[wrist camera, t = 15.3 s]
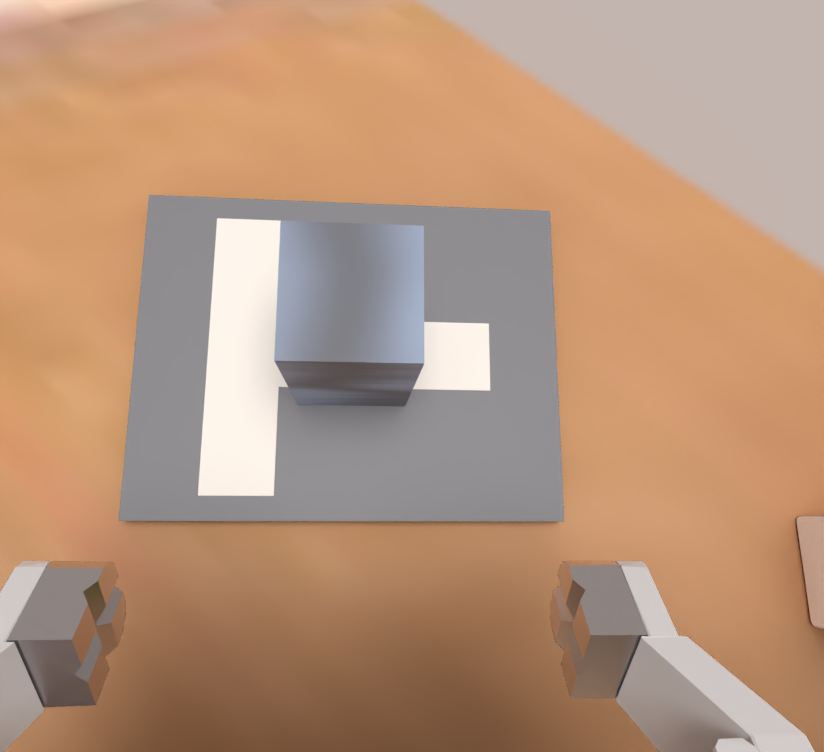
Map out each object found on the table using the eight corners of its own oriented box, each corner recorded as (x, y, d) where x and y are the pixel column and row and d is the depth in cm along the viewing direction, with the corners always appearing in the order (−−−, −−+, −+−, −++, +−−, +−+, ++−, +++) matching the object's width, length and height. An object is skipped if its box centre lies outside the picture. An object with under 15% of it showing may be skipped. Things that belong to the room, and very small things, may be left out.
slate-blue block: (405, 304, 28) (423, 225, 21) (405, 406, 28) (424, 363, 20) (301, 302, 28) (280, 220, 20) (297, 404, 27) (274, 360, 19)
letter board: (543, 220, 31) (550, 210, 30) (557, 521, 28) (564, 521, 27) (155, 205, 30) (148, 194, 29) (127, 520, 27) (118, 521, 26)
